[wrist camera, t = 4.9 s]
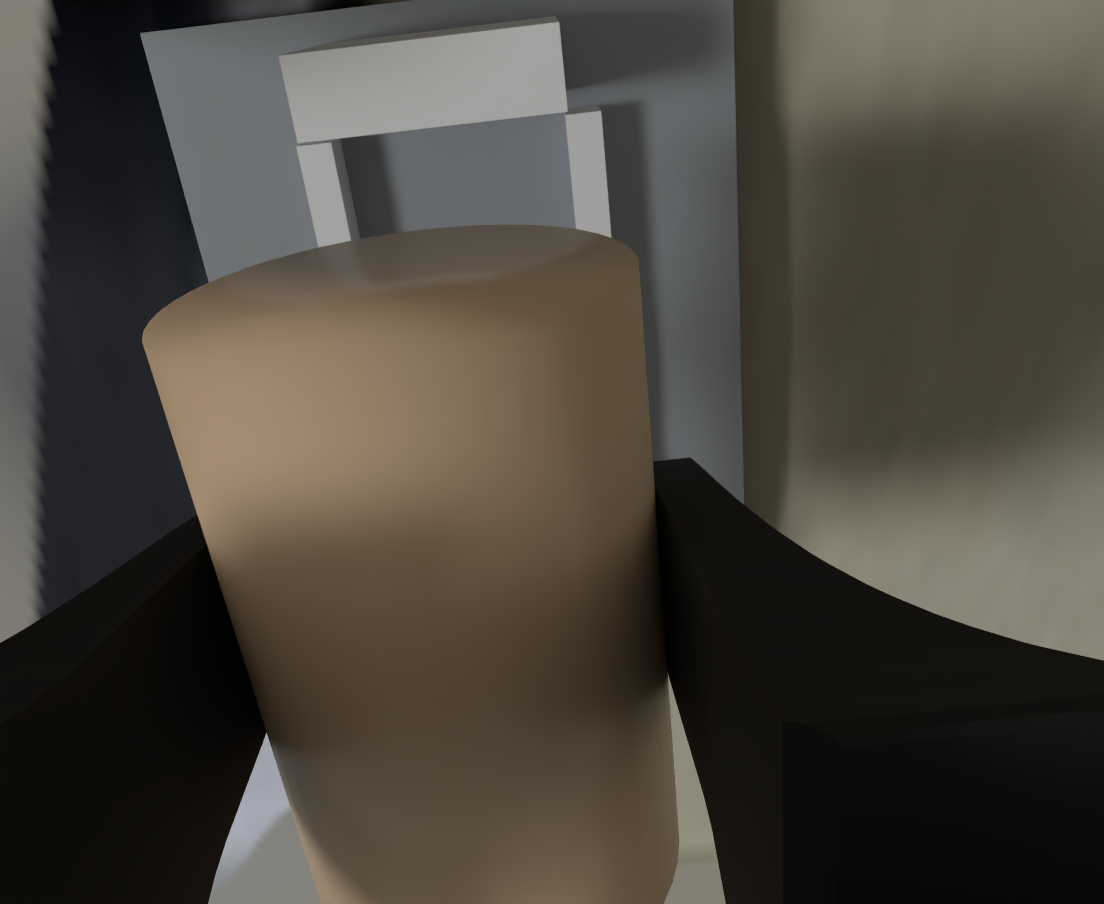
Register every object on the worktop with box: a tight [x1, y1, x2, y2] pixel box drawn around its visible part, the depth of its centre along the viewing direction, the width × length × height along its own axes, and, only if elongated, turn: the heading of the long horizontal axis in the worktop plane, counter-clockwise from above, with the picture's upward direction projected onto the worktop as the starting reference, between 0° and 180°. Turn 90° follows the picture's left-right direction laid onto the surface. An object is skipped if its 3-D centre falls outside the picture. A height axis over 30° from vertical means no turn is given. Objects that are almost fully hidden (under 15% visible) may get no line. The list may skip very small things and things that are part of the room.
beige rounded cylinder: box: [142, 225, 679, 904], centre depth 11 cm, size 5×8×5 cm, turn 6°
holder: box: [140, 0, 744, 504], centre depth 18 cm, size 10×13×4 cm
